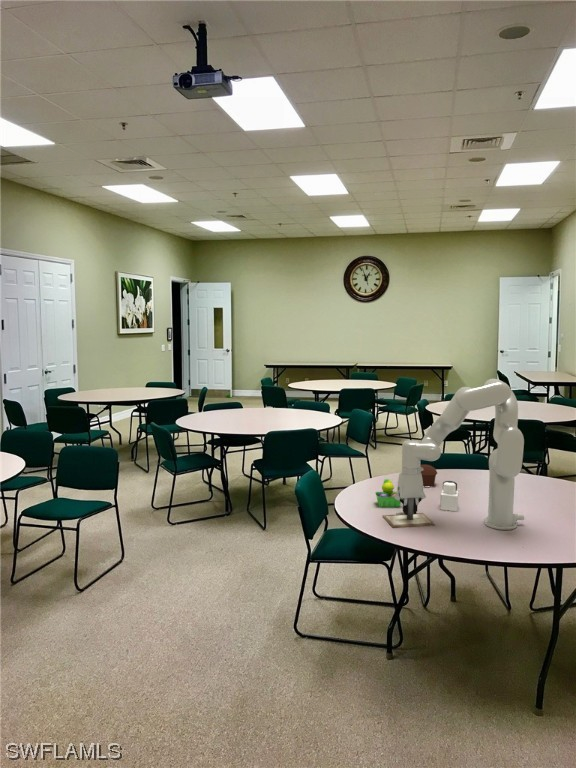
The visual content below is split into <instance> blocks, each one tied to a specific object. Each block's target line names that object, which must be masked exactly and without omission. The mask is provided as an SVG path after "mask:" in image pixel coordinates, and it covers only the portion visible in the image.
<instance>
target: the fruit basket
mask: <svg viewBox="0 0 576 768" xmlns="http://www.w3.org/2000/svg"><path fill="white" fill-rule="evenodd" d="M394 488H395V486H394V484H393V482H392V480H390V479H389V478H385V479H384V480H383V484H382V485H381V490H382V491H376V492H375V496H376V499H377V503H378V506H379V508H400V506H401V504H402V503H401V502H400V501H398V500H396V499H395V495H396V494H397V491H394V490H395V489H394ZM399 497H400V496H399ZM400 498H401V497H400ZM401 499H402V498H401Z"/></svg>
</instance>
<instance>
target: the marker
mask: <svg viewBox="0 0 576 768" xmlns="http://www.w3.org/2000/svg"><path fill="white" fill-rule="evenodd" d="M407 506H408V514H407V519H408V520H413V515H414V498H407Z"/></svg>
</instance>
